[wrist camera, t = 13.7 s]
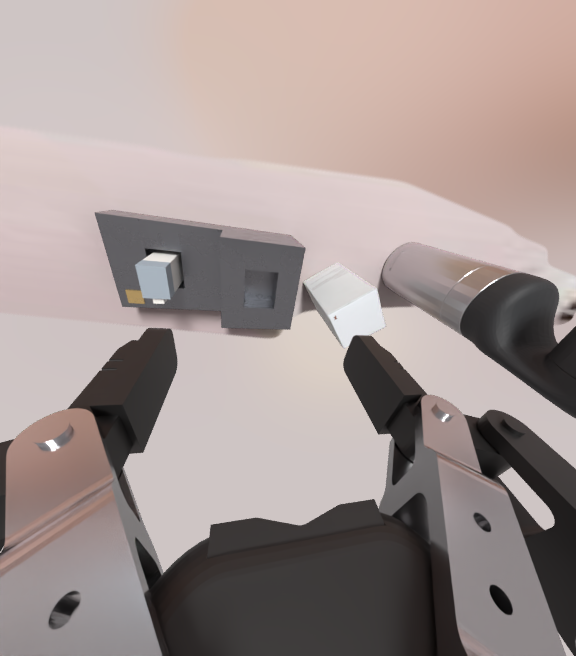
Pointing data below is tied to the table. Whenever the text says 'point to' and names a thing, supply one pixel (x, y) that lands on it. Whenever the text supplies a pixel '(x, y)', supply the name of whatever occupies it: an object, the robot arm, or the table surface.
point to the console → (209, 267)
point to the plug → (160, 275)
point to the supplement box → (345, 303)
